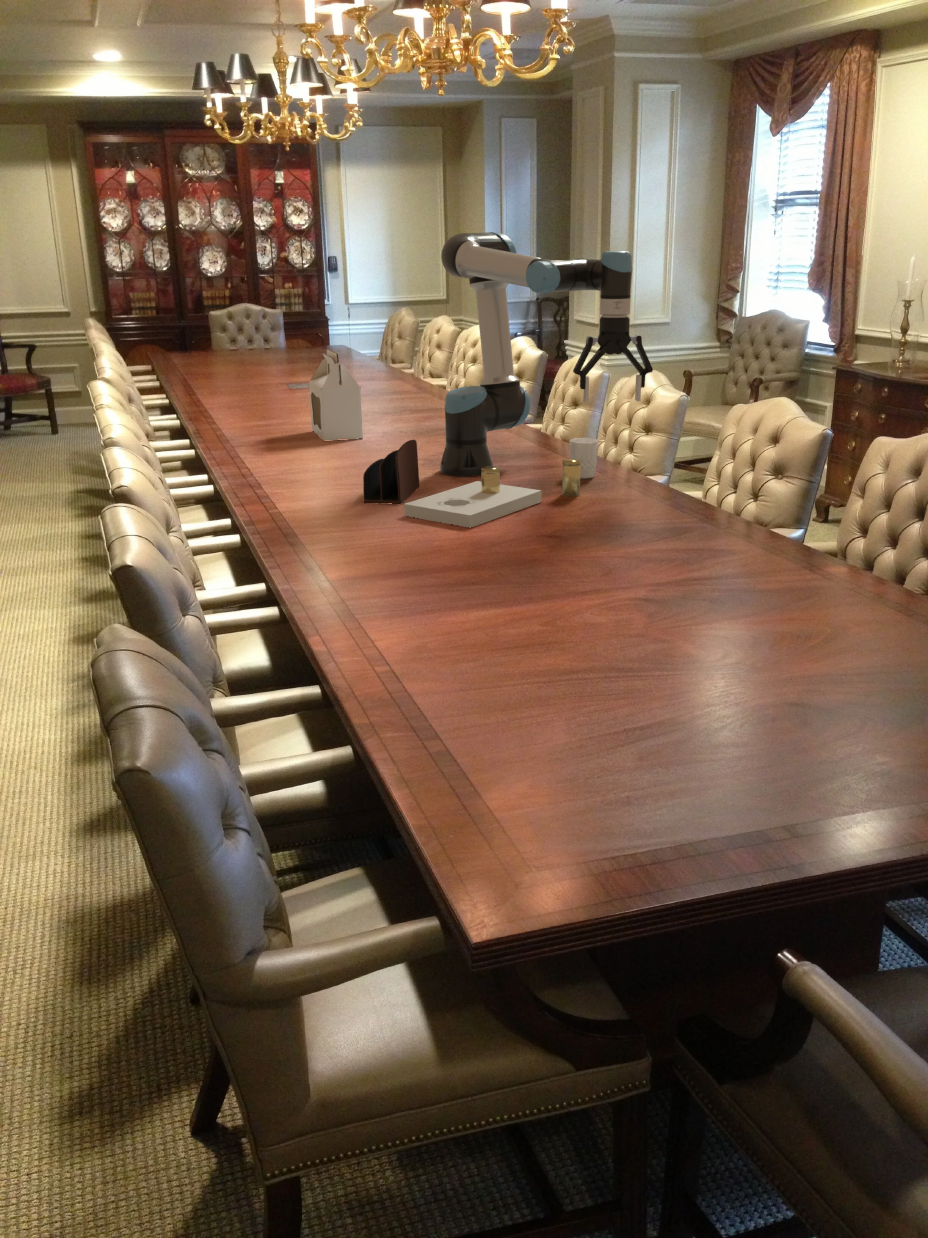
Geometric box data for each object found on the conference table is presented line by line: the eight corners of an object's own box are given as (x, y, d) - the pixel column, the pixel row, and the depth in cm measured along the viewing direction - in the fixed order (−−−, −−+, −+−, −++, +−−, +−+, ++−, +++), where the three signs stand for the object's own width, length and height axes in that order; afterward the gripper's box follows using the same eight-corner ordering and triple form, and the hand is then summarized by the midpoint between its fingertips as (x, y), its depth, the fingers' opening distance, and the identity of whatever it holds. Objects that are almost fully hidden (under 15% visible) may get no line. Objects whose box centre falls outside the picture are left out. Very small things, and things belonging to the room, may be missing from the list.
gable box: (312, 431, 371) (306, 349, 362) (348, 428, 375) (344, 347, 365) (324, 442, 351) (319, 355, 342) (363, 439, 355) (359, 353, 346)
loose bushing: (558, 495, 275) (559, 460, 272) (568, 491, 278) (568, 457, 275) (573, 497, 272) (574, 462, 269) (583, 494, 276) (584, 459, 273)
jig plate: (404, 515, 257) (404, 503, 256) (477, 492, 280) (477, 480, 279) (470, 527, 246) (470, 515, 245) (541, 501, 268) (541, 490, 267)
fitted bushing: (478, 503, 268) (477, 468, 265) (488, 500, 271) (488, 465, 268) (492, 506, 265) (492, 470, 262) (503, 502, 268) (503, 467, 265)
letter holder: (419, 487, 287) (418, 435, 282) (401, 505, 268) (398, 450, 263) (384, 486, 288) (382, 434, 284) (363, 504, 270) (360, 449, 265)
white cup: (596, 479, 292) (597, 443, 288) (567, 478, 293) (568, 442, 290) (598, 473, 299) (599, 437, 296) (570, 472, 301) (571, 437, 297)
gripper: (568, 318, 261) (566, 404, 269) (667, 315, 264) (663, 402, 271) (563, 315, 268) (561, 400, 276) (659, 313, 271) (655, 397, 278)
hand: (611, 401), depth 273 cm, fingers open, 13 cm apart
